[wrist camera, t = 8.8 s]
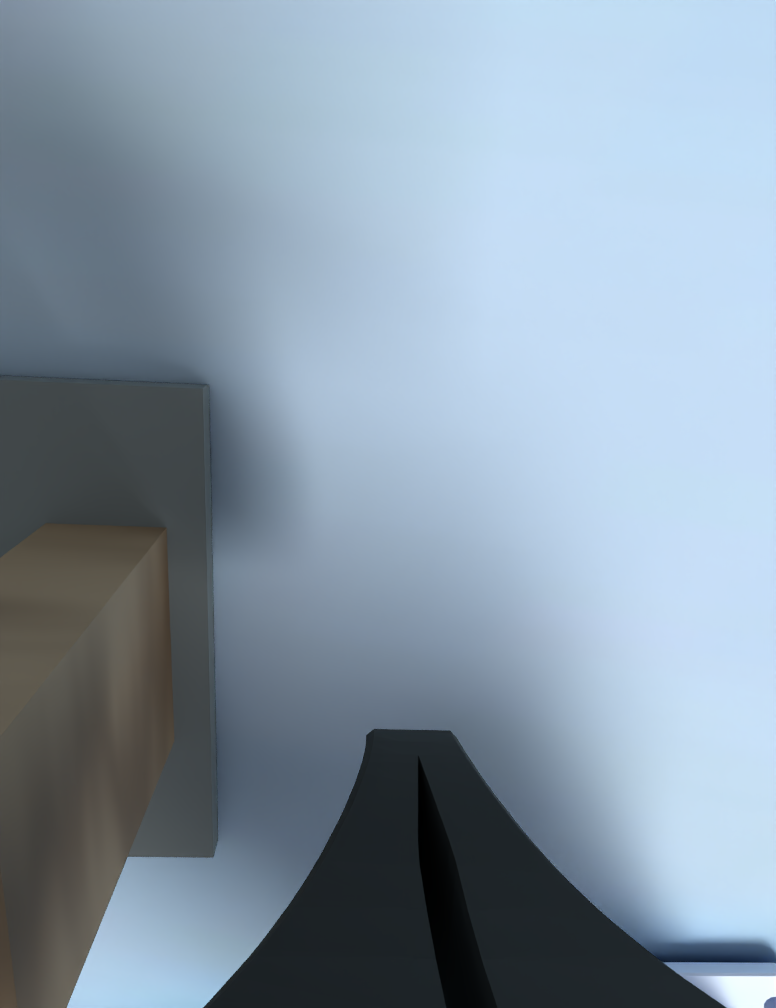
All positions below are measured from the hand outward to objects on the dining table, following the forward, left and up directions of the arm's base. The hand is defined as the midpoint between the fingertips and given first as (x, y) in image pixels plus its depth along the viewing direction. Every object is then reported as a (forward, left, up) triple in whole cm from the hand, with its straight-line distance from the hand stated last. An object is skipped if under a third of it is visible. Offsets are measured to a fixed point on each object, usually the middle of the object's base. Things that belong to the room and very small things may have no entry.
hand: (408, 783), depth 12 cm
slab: (0, +6, -4) cm, 7 cm away
